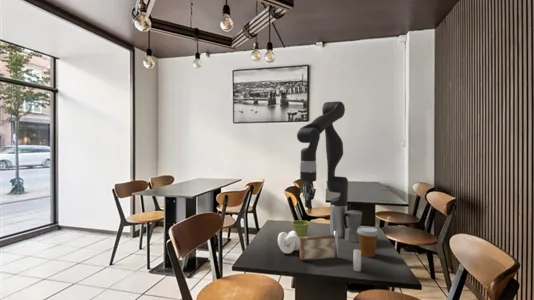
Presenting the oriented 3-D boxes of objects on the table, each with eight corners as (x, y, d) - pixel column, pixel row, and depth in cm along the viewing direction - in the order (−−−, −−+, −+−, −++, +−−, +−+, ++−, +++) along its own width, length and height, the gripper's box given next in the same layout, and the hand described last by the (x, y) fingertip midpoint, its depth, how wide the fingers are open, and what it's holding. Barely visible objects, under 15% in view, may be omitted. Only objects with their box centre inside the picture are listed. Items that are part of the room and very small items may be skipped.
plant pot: (310, 241, 155) (310, 225, 154) (292, 241, 155) (292, 224, 155) (308, 235, 164) (308, 220, 164) (291, 235, 164) (291, 220, 164)
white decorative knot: (286, 257, 132) (286, 238, 132) (271, 249, 142) (271, 231, 142) (305, 252, 138) (305, 234, 138) (289, 245, 148) (290, 227, 148)
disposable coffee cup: (364, 259, 130) (364, 232, 130) (352, 251, 139) (353, 227, 139) (382, 257, 133) (383, 231, 132) (370, 250, 142) (370, 225, 142)
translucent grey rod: (333, 256, 133) (333, 230, 133) (336, 256, 134) (336, 230, 133) (334, 258, 132) (335, 231, 131) (338, 257, 132) (338, 231, 132)
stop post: (351, 268, 121) (352, 249, 120) (358, 267, 121) (358, 248, 121) (355, 271, 118) (355, 252, 118) (362, 271, 118) (362, 251, 118)
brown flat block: (332, 255, 133) (332, 234, 133) (334, 256, 132) (334, 235, 131) (299, 258, 130) (299, 236, 130) (301, 259, 128) (301, 237, 128)
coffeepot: (352, 235, 165) (353, 203, 164) (367, 239, 157) (368, 206, 157) (335, 241, 155) (336, 207, 155) (351, 245, 148) (351, 210, 147)
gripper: (296, 169, 142) (296, 204, 142) (305, 172, 128) (305, 211, 129) (310, 169, 143) (310, 204, 144) (321, 171, 130) (321, 210, 130)
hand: (308, 207), depth 136 cm, fingers closed
